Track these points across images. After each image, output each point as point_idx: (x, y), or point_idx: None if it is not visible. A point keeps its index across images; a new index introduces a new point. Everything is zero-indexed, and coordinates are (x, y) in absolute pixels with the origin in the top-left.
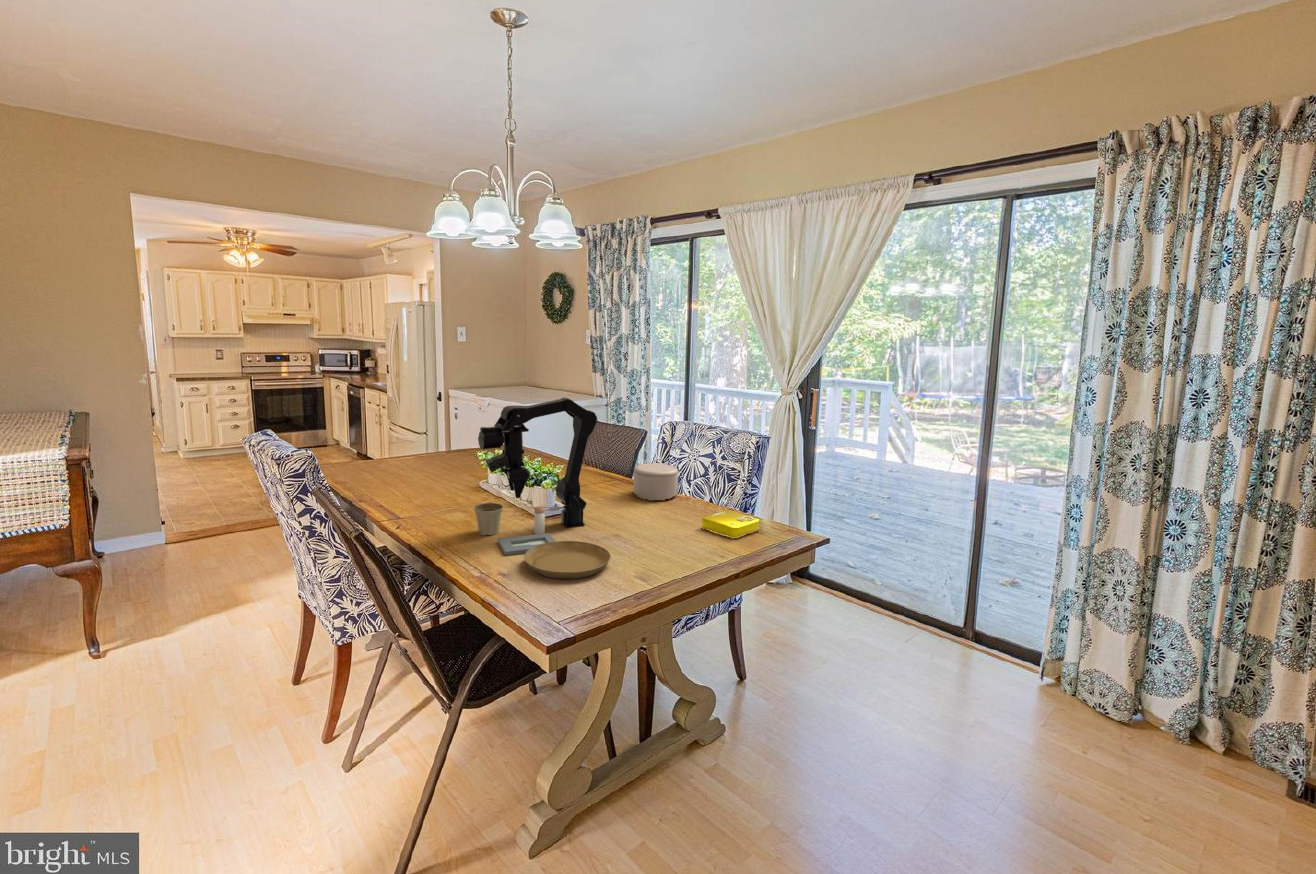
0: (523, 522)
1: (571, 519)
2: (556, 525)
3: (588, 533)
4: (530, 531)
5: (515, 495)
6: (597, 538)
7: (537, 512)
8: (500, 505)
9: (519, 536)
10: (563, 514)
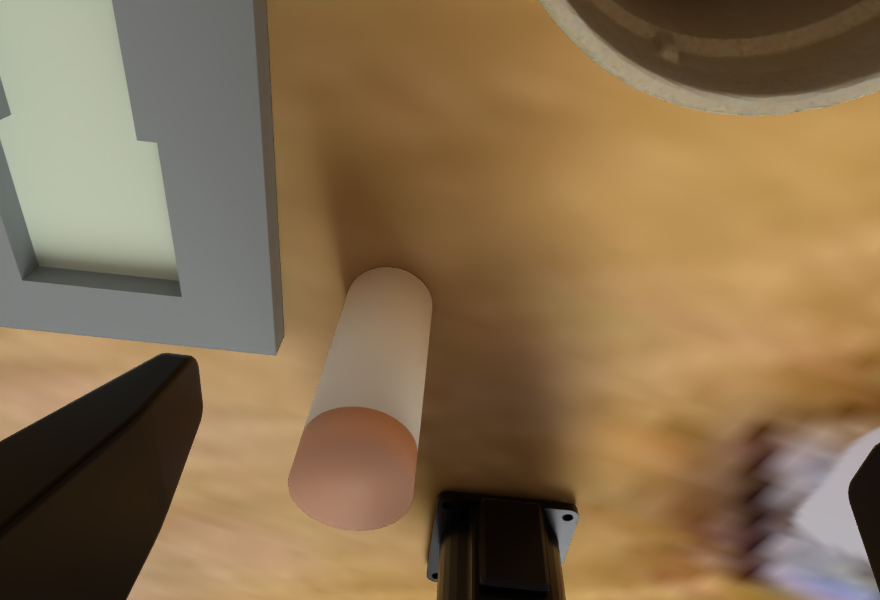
0: (760, 288)
1: (448, 563)
2: (527, 458)
3: (280, 539)
4: (480, 260)
5: (160, 382)
6: (173, 542)
7: (309, 428)
8: (826, 77)
9: (254, 101)
10: (486, 566)
